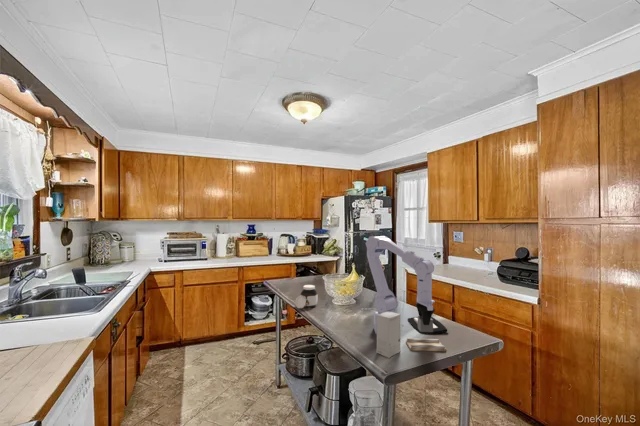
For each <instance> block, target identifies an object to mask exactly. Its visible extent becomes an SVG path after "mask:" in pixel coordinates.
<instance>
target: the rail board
mask: <svg viewBox="0 0 640 426" xmlns="http://www.w3.org/2000/svg"><path fill="white" fill-rule="evenodd" d="M405 343H406V345H407V346H408V349H409V351H426V352H427V351H429V352H447V348H446V346H445V345H443V344H442V342H440V339H439V338H411V337H410V338H408V337H407V338H406V340H405Z"/></svg>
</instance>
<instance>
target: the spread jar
mask: <svg viewBox="0 0 640 426" xmlns="http://www.w3.org/2000/svg"><path fill="white" fill-rule="evenodd" d="M318 297H319V296H318V292H317V289H316V285H314V284H305V285H303V289H302V290H301V292H300V295H299V296H297V297H296V299H295V306H296V308H297V309H303V308H310V309H311V308H315V306H317V304H318V299H319V298H318Z"/></svg>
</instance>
